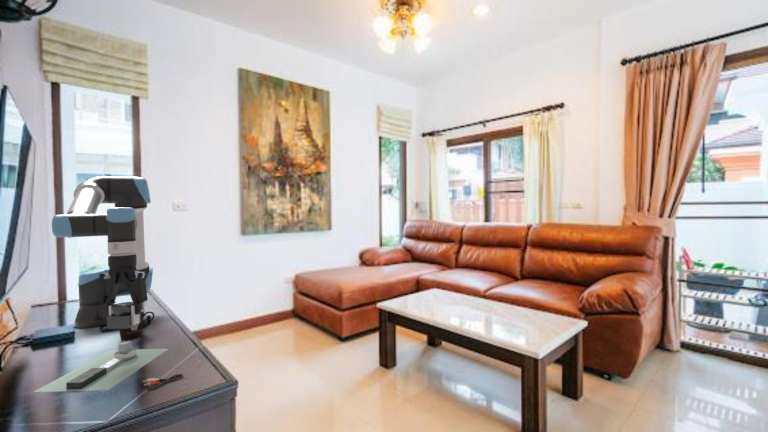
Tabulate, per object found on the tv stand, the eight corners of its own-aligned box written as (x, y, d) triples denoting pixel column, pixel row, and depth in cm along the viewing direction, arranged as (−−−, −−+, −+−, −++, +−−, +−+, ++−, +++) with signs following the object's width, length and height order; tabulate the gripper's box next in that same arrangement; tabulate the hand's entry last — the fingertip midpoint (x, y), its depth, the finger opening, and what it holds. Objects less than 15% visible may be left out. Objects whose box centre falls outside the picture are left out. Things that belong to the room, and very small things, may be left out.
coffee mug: (114, 344, 129) (114, 317, 129) (119, 336, 137) (118, 311, 137) (152, 338, 135) (151, 312, 134) (155, 331, 142) (154, 306, 142)
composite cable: (182, 376, 104) (182, 367, 104) (185, 382, 101) (184, 373, 101) (142, 386, 98) (142, 378, 98) (143, 393, 95) (143, 384, 95)
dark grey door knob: (121, 322, 119) (120, 302, 119) (140, 322, 119) (140, 301, 119) (107, 329, 112) (106, 307, 112) (127, 328, 112) (126, 306, 112)
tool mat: (110, 351, 123) (110, 350, 123) (168, 349, 123) (168, 348, 123) (33, 393, 95) (32, 392, 95) (108, 391, 95) (108, 390, 95)
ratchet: (122, 354, 119) (122, 339, 119) (141, 353, 119) (140, 339, 119) (62, 389, 96) (62, 371, 96) (85, 388, 96) (84, 370, 96)
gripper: (82, 256, 111) (85, 329, 112) (145, 255, 112) (147, 327, 112) (101, 253, 119) (103, 321, 119) (159, 252, 119) (161, 320, 120)
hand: (124, 324), depth 116 cm, fingers closed on dark grey door knob, 6 cm apart
